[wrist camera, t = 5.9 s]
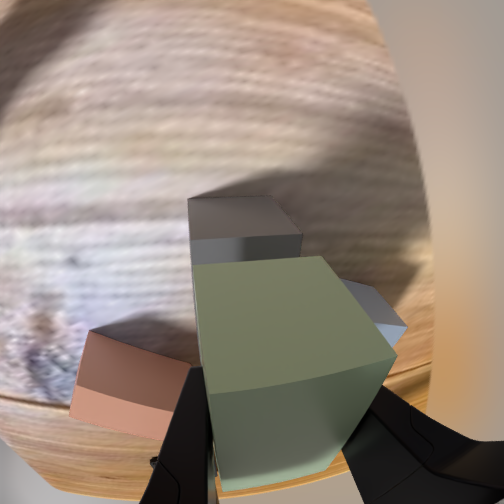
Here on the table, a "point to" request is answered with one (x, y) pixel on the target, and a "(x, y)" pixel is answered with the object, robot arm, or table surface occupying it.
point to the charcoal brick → (239, 232)
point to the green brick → (283, 366)
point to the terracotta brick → (126, 387)
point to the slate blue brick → (377, 310)
